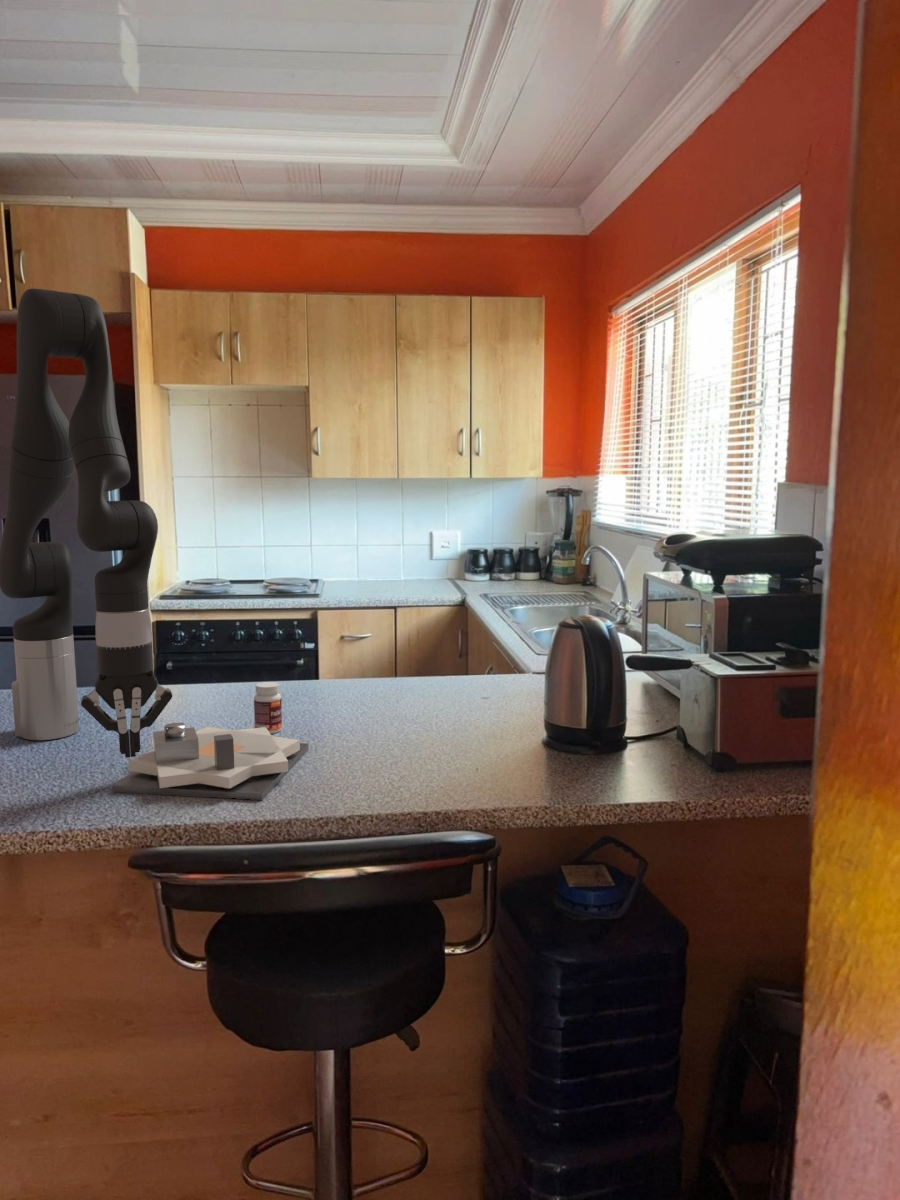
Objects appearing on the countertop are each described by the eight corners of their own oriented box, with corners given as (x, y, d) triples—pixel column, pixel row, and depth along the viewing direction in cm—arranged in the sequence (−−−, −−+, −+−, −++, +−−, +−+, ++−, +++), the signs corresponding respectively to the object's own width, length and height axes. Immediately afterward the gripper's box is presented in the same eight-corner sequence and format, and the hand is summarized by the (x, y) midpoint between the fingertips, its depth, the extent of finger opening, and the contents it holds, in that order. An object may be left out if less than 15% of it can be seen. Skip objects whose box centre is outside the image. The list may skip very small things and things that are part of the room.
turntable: (126, 744, 135) (124, 708, 134) (283, 727, 144) (282, 693, 143) (132, 801, 111) (129, 758, 110) (319, 776, 121) (318, 736, 120)
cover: (156, 763, 121) (154, 733, 121) (153, 750, 127) (152, 722, 126) (199, 758, 124) (197, 728, 123) (194, 746, 129) (193, 718, 128)
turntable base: (113, 792, 119) (112, 785, 118) (181, 743, 140) (181, 737, 140) (262, 800, 116) (261, 793, 116) (308, 749, 137) (308, 743, 137)
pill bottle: (275, 735, 145) (274, 688, 144) (250, 733, 146) (248, 686, 144) (286, 727, 149) (285, 681, 148) (261, 725, 150) (260, 680, 149)
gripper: (73, 648, 114) (80, 769, 117) (174, 641, 119) (179, 758, 122) (74, 638, 121) (82, 753, 124) (170, 632, 126) (175, 742, 129)
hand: (130, 755), depth 123 cm, fingers closed
